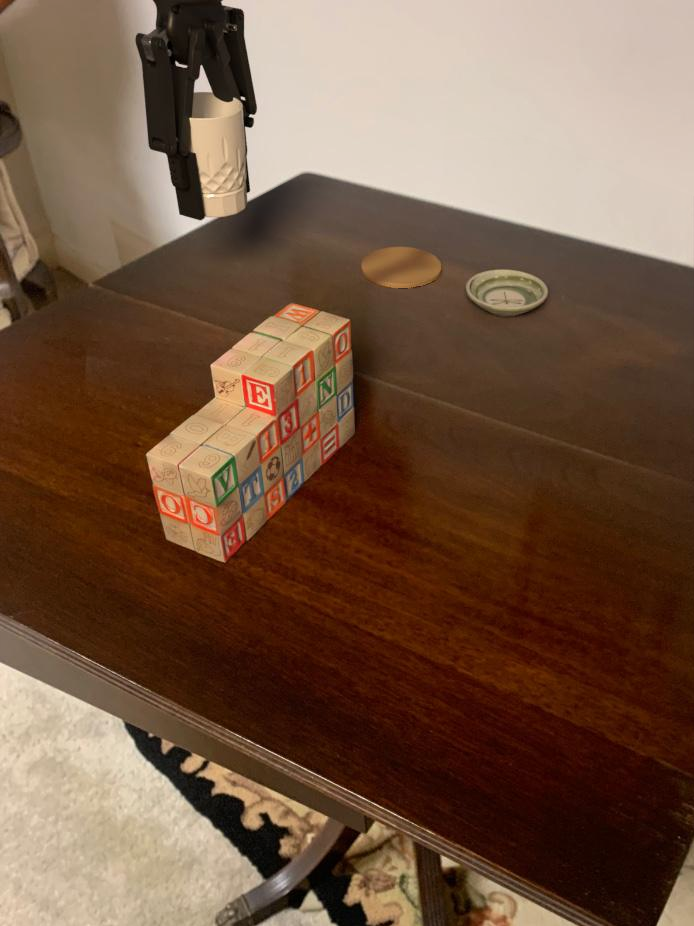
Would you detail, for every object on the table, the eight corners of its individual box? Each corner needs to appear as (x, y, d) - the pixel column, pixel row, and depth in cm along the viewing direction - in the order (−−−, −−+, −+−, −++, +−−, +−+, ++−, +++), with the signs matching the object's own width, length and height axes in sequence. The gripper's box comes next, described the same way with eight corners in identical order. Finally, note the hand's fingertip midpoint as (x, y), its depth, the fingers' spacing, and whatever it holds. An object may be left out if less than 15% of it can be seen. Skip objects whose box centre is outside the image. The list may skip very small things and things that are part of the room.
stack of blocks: (226, 566, 73) (202, 445, 64) (165, 542, 75) (133, 420, 66) (356, 432, 87) (351, 316, 78) (302, 414, 88) (291, 299, 79)
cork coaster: (346, 276, 109) (346, 271, 108) (385, 244, 115) (385, 240, 114) (418, 296, 106) (418, 291, 105) (454, 263, 112) (454, 258, 112)
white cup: (208, 184, 100) (195, 86, 93) (267, 201, 98) (258, 102, 91) (163, 209, 95) (145, 107, 88) (224, 227, 93) (211, 124, 86)
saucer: (530, 283, 109) (532, 264, 107) (557, 322, 103) (560, 303, 101) (455, 290, 107) (455, 271, 105) (478, 331, 101) (479, 311, 99)
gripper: (140, -27, 72) (185, 246, 89) (280, -66, 85) (296, 179, 102) (68, -42, 74) (125, 228, 91) (215, -77, 87) (241, 164, 104)
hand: (215, 202), depth 96 cm, fingers closed on white cup, 8 cm apart
